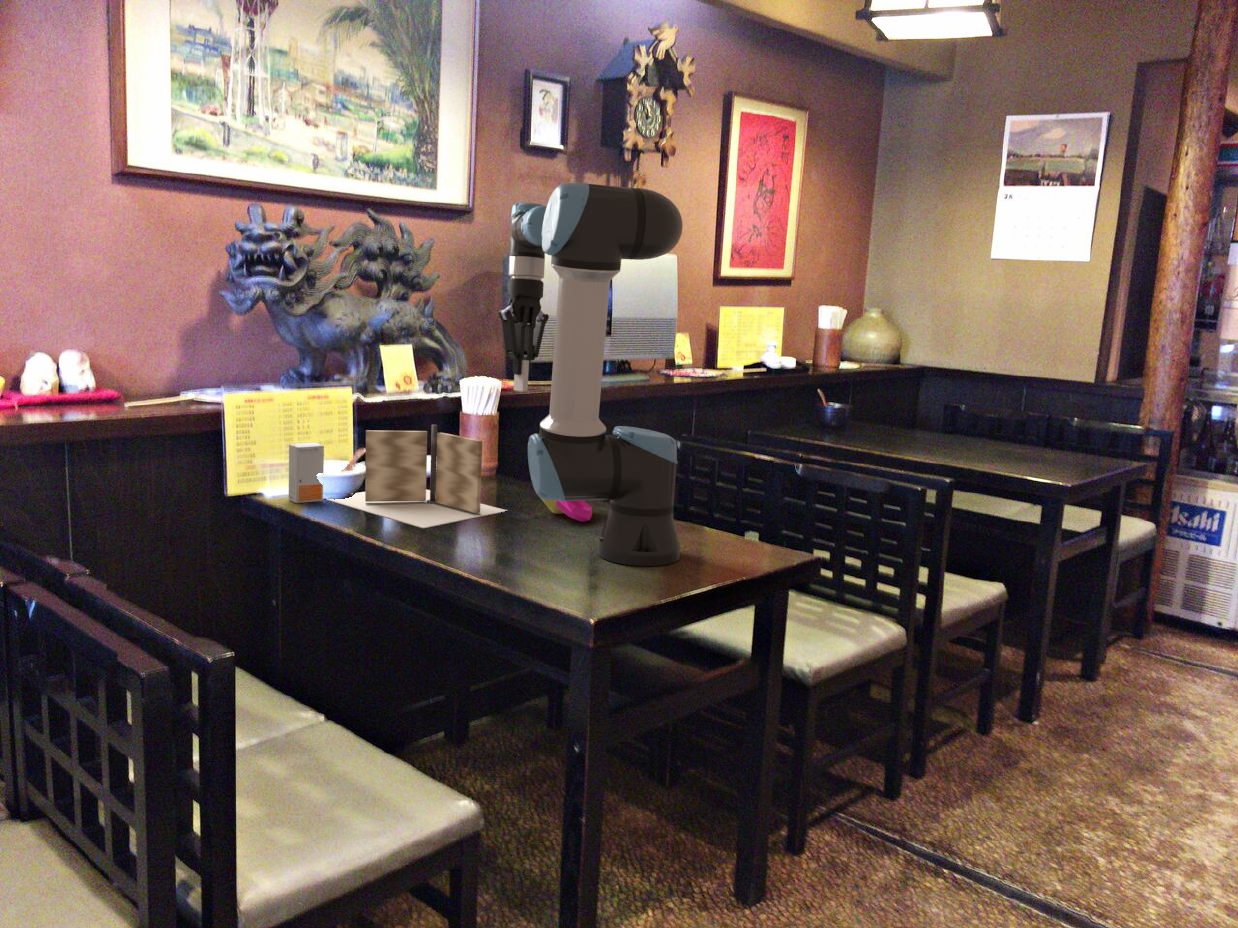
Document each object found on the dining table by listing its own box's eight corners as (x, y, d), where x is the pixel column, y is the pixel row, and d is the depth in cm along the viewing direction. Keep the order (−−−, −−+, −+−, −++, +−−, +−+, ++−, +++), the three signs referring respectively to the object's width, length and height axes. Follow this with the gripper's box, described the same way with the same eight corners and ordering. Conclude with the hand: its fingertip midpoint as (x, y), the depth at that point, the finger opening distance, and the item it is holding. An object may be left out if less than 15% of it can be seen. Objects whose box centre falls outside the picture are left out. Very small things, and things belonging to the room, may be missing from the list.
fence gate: (425, 500, 215) (426, 431, 212) (425, 501, 214) (427, 431, 211) (365, 500, 211) (366, 430, 208) (365, 501, 210) (366, 431, 207)
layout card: (507, 511, 211) (507, 509, 211) (423, 528, 194) (423, 527, 193) (408, 485, 231) (408, 484, 231) (323, 499, 213) (323, 497, 213)
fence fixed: (482, 514, 207) (485, 433, 204) (473, 516, 205) (476, 434, 202) (433, 501, 216) (435, 423, 213) (423, 503, 214) (425, 424, 211)
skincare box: (296, 504, 207) (296, 447, 205) (288, 500, 210) (288, 443, 208) (324, 501, 211) (324, 445, 209) (315, 497, 214) (316, 442, 212)
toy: (547, 528, 202) (574, 487, 200) (521, 485, 217) (546, 446, 214) (586, 543, 208) (613, 503, 206) (558, 500, 222) (582, 462, 220)
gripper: (535, 282, 219) (529, 390, 221) (491, 276, 209) (485, 389, 211) (560, 282, 214) (554, 392, 217) (516, 275, 204) (510, 391, 207)
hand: (520, 390), depth 214 cm, fingers closed
